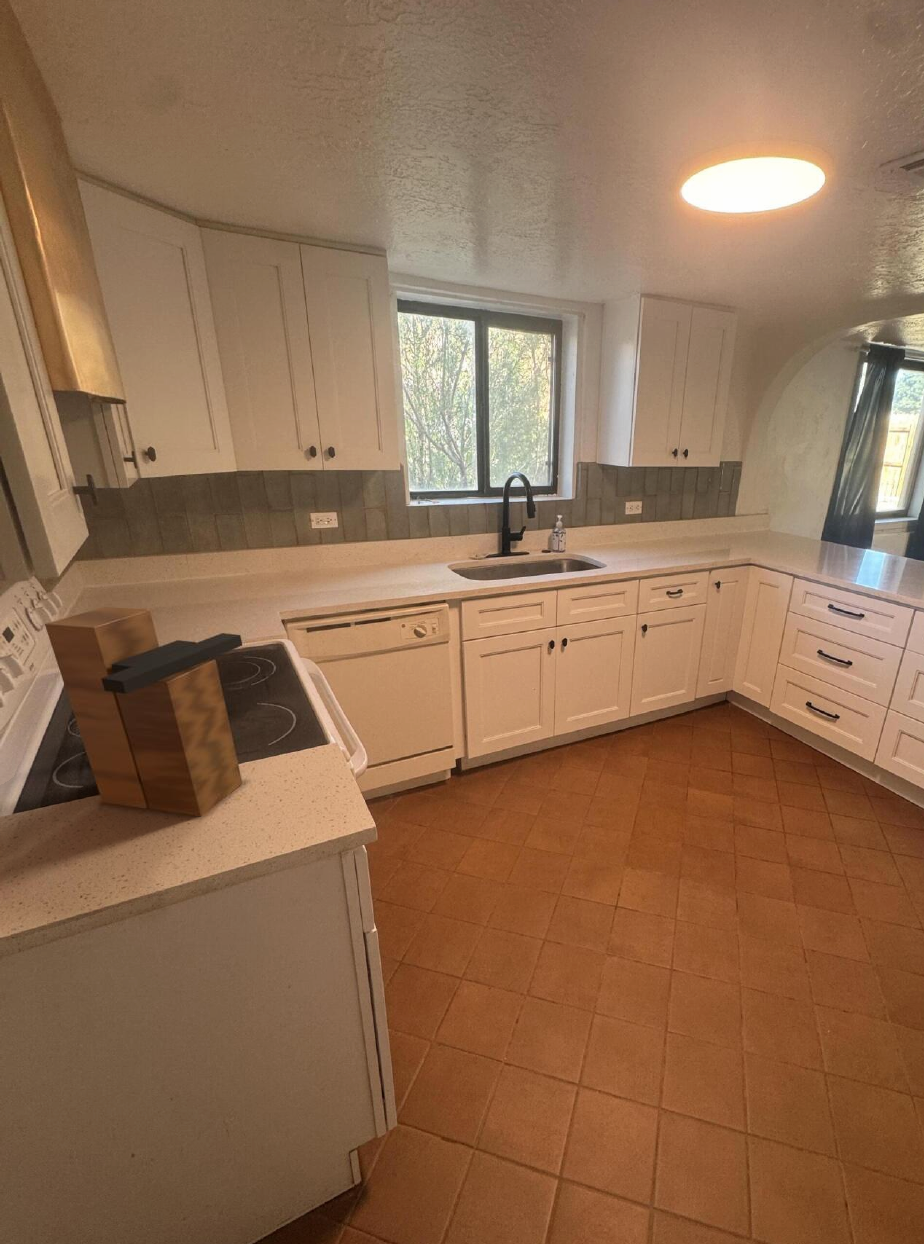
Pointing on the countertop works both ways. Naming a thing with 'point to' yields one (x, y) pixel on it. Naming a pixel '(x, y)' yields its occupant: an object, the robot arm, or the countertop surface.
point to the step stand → (145, 717)
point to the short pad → (150, 655)
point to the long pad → (170, 663)
